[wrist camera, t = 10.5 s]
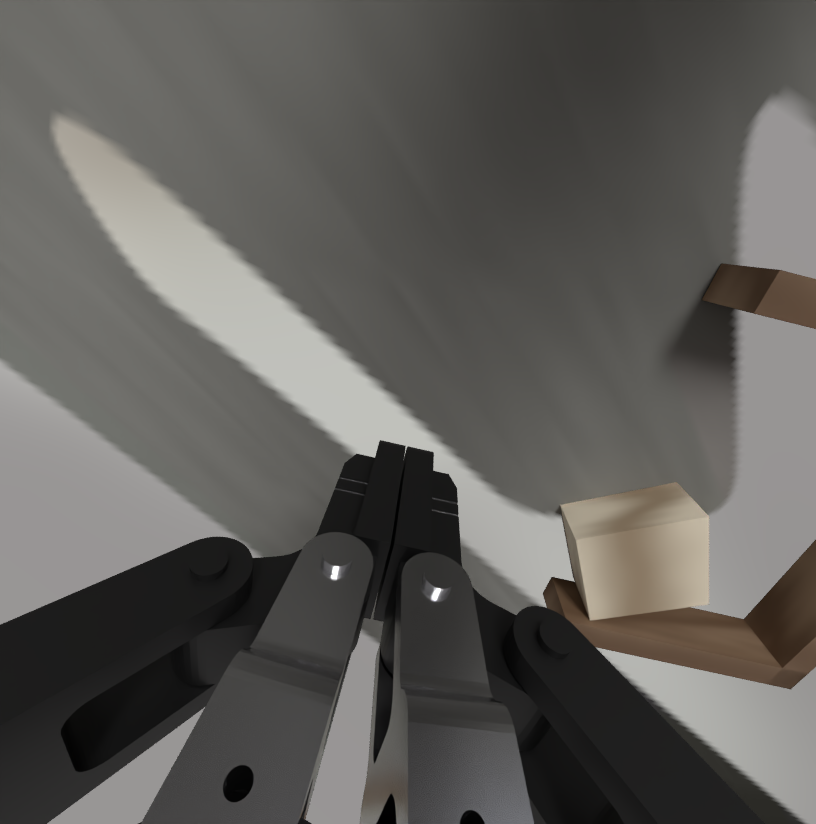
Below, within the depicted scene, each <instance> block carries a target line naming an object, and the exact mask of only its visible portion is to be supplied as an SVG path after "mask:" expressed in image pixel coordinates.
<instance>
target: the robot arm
mask: <svg viewBox="0 0 816 824" xmlns="http://www.w3.org/2000/svg"><path fill="white" fill-rule="evenodd" d="M404 454H405V457H404ZM433 457H434V453H433V452H430V451H425V450H421V449H417V448H412V447H407V450H406V453H405V446H403V445H399V444H394V443H390V442H386V441H381V440H380V442H379V446H378V449H377V453H376V457H375V458H373V457H369V456H364V455H360V454H356V455H354V456H353V457H352V458H351V459H349V460H348V461H347V462H345V464H344V466H343V469H342V472H341V474H340V477H339V479H338V482H337V484H336V487H335V490H334V492H333V495H332V497H331V500H330V502H329V505H328V507H327V510H326V513H325V515H324V518H323V520H322V523H321V525H320V528H319V531H318V533H317V535H316V537H314V538H313V539H311V540H310V541H309V542H308V543H307V544H306V545H305V546H304V547H303V549H301V550H299V551H297V552H295V553H292V554H288V555H284V556H277V557H263V558H252V555H251V553H250V551H249V549H248V548H247V547H246V546H245V545H244V544H242V543H241V542H239V541H237V540H235V539H231V538H227V537H209V538H204V539H200V540H197V541H194V542H192V543H189V544H187V545H184V546H182V547H180V548H177V549H175V550H173V551H170V552H168V553H166V554H163V555H161V556H159V557H157V558H154V559H152V560H150V561H147V562H145V563H143V564H140V565H138V566H136V567H133V568H131V569H129V570H126V571H124V572H122V573H119V574H117V575H115V576H112V577H110V578H108V579H106V580H103V581H101V582H99V583H96V584H94V585H92V586H89V587H87V588H85V589H82V590H80V591H78V592H75V593H73V594H71V595H68V596H66V597H64V598H61V599H59V600H57V601H55V602H52V603H50V604H48V605H45V606H43V607H41V608H38V609H36V610H34V611H31V612H29V613H27V614H24V615H22V616H20V617H17V618H15V619H13V620H10V621H8V622H6V623H3V624H1V625H0V824H47V823H48V822H49V821H51V820H52V819H54V818H55V817H56V816H58V815H59V814H60V813H62V812H63V811H64V810H66V809H67V808H68V807H70V806H71V805H72V804H74V803H75V802H77V801H78V800H79V799H81V798H82V797H83V796H85V795H86V794H87V793H89V792H90V791H91V790H93V789H94V788H96V787H97V786H98V785H100V784H101V783H102V782H104V781H105V780H106V779H108V778H109V777H111V776H112V775H113V774H115V773H116V772H117V771H119V770H120V769H121V768H123V767H124V766H125V765H127V764H128V763H130V762H131V761H132V760H134V759H135V758H136V757H137V756H139V755H140V754H142V753H143V752H144V751H146V750H147V749H149V748H150V747H151V746H153V745H154V744H155V743H157V742H158V741H159V740H161V739H162V738H163V737H165V736H166V735H167V734H169V733H170V732H172V731H173V730H174V729H175V728H177V727H178V726H180V725H181V724H182V723H184V722H185V721H186V720H188V719H189V718H191V717H192V716H193V715H195V714H196V713H197V712H199V711H200V710H201V709H203V708H204V707H205V706H206V707H205V709H204V711H203V713H202V714H201V716H200V718H199V720H198V721H197V723H196V725H195V727H194V729H193V730H192V732H191V734H190V736H189V738H188V739H187V741H186V743H185V745H184V747H183V749H182V750H181V752H180V754H179V756H178V758H177V760H176V761H175V763H174V765H173V767H172V768H171V770H170V772H169V774H168V776H167V777H166V779H165V781H164V783H163V785H162V787H161V788H160V790H159V792H158V794H157V796H156V797H155V799H154V801H153V803H152V805H151V806H150V808H149V810H148V812H147V814H146V815H145V817H144V819H143V821H142V822H141V823H139V824H311V823H310V822H308V821H306V820H305V819H306V815H307V811H308V807H309V804H310V801H311V797H312V793H313V790H314V786H315V782H316V778H317V775H318V770H319V767H320V764H321V760H322V756H323V753H324V749H325V745H326V742H327V738H328V735H329V731H330V728H331V724H332V721H333V717H334V714H335V710H336V706H337V703H338V699H339V696H340V692H341V689H342V685H343V682H344V678H345V674H346V671H347V667H348V664H349V660H350V656H351V653H352V652H353V650H354V649H355V647H356V645H357V642H358V638H359V634H360V631H361V627H362V623H363V619H364V618H368V619H370V618H371V615H372V611H373V607H374V604H375V600H376V596H377V601H376V607H375V613H374V620H379V621H383V622H384V623H383V630H382V637H381V642H380V646H379V649H378V653H377V657H376V664H375V665H376V666H375V679H374V692H373V707H372V720H371V733H370V747H369V748H370V749H369V761H368V771H367V778H366V785H365V790H364V795H363V801H362V808H361V817H360V824H765V823H764V822H763V821H762V820H761V819H760V818H759V817H758V816H757V815H756V814H755V813H754V812H753V811H752V810H751V809H750V808H749V806H748V805H747V804H746V803H745V802H744V801H743V800H742V799H741V798H740V797H739V796H738V795H737V794H736V793H735V792H734V791H733V790H732V789H731V788H730V787H729V786H728V785H727V784H726V783H725V782H724V781H723V779H722V778H721V777H720V776H719V775H718V774H717V773H716V772H715V771H714V770H713V769H712V768H711V767H710V766H709V765H708V764H707V763H706V762H705V761H704V760H703V759H702V758H701V757H700V756H699V755H698V754H697V752H696V751H695V750H694V749H693V748H692V747H691V746H690V745H689V744H688V743H687V742H686V741H685V740H684V739H683V738H682V737H681V736H680V735H679V734H678V733H677V732H676V731H675V730H674V729H673V728H672V727H671V725H670V724H669V723H668V722H667V721H666V720H665V719H664V718H663V717H662V716H661V715H660V714H659V713H658V712H657V711H656V710H655V709H654V708H653V707H652V706H651V705H650V704H649V703H648V702H647V701H646V700H645V698H644V697H643V696H642V695H641V694H640V693H639V692H638V691H637V690H636V689H635V688H634V687H633V686H632V685H631V684H630V683H629V682H628V681H627V680H626V679H625V678H624V677H623V676H622V675H621V674H620V673H619V671H618V670H617V669H616V668H615V667H614V666H613V665H612V664H611V663H610V662H609V661H608V660H607V659H606V658H605V657H604V656H603V655H602V654H601V653H600V652H599V651H598V650H597V649H596V648H595V647H594V646H593V644H592V643H591V642H590V641H589V640H588V639H587V638H586V637H585V636H584V635H583V634H582V633H581V632H580V631H579V630H578V629H577V628H576V627H575V626H574V625H573V624H572V623H571V622H570V621H569V620H567V619H566V618H565V617H564V616H562V615H560V614H559V613H557V612H555V611H553V610H551V609H548V608H545V607H539V606H531V607H527V608H525V609H522V610H521V611H520V612H519V613H518V614H517V616H516V615H514V614H512V613H510V612H509V611H507V610H505V609H503V608H501V607H499V606H497V605H495V604H493V603H492V602H490V601H488V600H487V599H485V598H484V597H482V596H481V595H480V594H479V593H478V592H477V591H476V590H475V589H474V588H473V587H472V584H471V580H470V578H469V576H468V575H467V573H466V571H465V570H464V569H463V568H462V563H461V548H460V532H459V517H458V505H457V502H458V500H457V488H456V486H455V484H454V483H453V481H452V479H451V478H450V476H449V474H445V473H440V472H436V471H433ZM403 460H404V461H403ZM377 593H378V595H377Z"/></svg>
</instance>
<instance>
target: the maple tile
mask: <svg viewBox="0 0 816 824" xmlns="http://www.w3.org/2000/svg"><path fill="white" fill-rule="evenodd" d="M560 506H561V511H562V521H563V527H564V532H565V537H566V542H567V548H568V553H569V558H570V564H571V569H572V574H573V578H574V581H575V583H576V586H577V588H578V591H579V594H580V596H581V599H582V601H583V604H584V606H585V609H586V611H587V614H588V617H589V619H590V621H591V620H599V619H606V618H613V617H621V616H628V615H635V614H643V613H650V612H658V611H665V610H672V609H680V608H687V607H694V606H702V605H709V516H708V515H707V514H706V513H705V512H704V511H703V510H702V509H701V508H700V506H699V505H698V504H697V503H696V502H695V501H694V500H693V499H692V498H691V497H690V496H689V495H688V494H687V493H686V492H685V491H684V490H683V489H682V488H681V486H680V485H679V484H678V483H677V482H675V483H670V484H665V485H660V486H655V487H650V488H645V489H640V490H634V491H629V492H624V493H619V494H614V495H609V496H604V497H599V498H593V499H588V500H583V501H578V502H573V503H568V504H563V505H560Z"/></svg>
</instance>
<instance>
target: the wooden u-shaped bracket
mask: <svg viewBox="0 0 816 824" xmlns="http://www.w3.org/2000/svg"><path fill="white" fill-rule="evenodd" d="M702 300H703V301H707V302H711V303H715V304H719V305H723V306H727V307H731V308H734V309H738V310H742V311H746V312H750V313H754V314H758V315H762V316H766V317H770V318H774V319H778V320H782V321H786V322H790V323H795V324H799V325H802V326H806V327H810V328H814V329H816V279H813V278H809V277H805V276H801V275H797V274H793V273H789V272H786V271H782V270H775V269H766V268H756V267H747V266H738V265H729V264H721V265H720V267H719V269H718V271H717V273H716V275H715V277H714V278H713V280H712V282H711V284H710V286H709V288H708V289H707V291H706V293H705V295H704V297H703V299H702ZM543 595H544V599H545V602H546V606H547V608H548V609H551V610H553V611H555V612H557V613H559V614H560V615H562V616H564V617H565V618H566V619H567V620H569V621H570V622H571V623H572V624H573V625H574V626H575V627H576V628H577V629H578V630H579V631H580V632H581V633H582V634H583V635H584V636H585V637H586V638H587V639H588V640H589V641H590V642H591V643H592V644H593V646H594V647H597V648H602V649H607V650H611V651H616V652H621V653H625V654H630V655H635V656H639V657H644V658H648V659H653V660H658V661H662V662H667V663H672V664H676V665H681V666H686V667H690V668H695V669H699V670H704V671H709V672H713V673H718V674H723V675H727V676H732V677H736V678H741V679H746V680H750V681H755V682H760V683H765V684H769V685H773V686H779V687H783V688H787V689H791V688H792V687H794V686H795V685H796V684H797V683H798V682H799V681H800V680H801V679H803V678H804V677H805V676H806V675H807V674H808V673H809V672H810V671H811V670H813V669H814V668H815V667H816V540H815V541H814V542H813V543H812V544H811V546H810V547H809V548H808V549H807V550H806V551H805V552H804V553H803V554H802V555H801V557H800V558H799V559H798V560H797V561H796V562H795V563H794V564H793V565H792V566H791V568H790V569H789V570H788V571H787V572H786V573H785V575H783V576H782V578H781V579H780V580H779V581H778V582H777V583H776V584H775V585H774V586H773V588H772V589H771V590H770V591H769V592H768V593H767V594H766V595H765V596H764V598H763V599H762V600H761V601H760V602H759V603H758V604H757V605H756V606H755V607H754V608H753V610H752V611H751V612H750V613H749V614H748V615H747V616H746V617H745V618H744V619H740V618H735V617H731V616H726V615H722V614H717V613H713V612H708V611H704V610H699V609H695V608H690V607H687V608H680V609H672V610H665V611H658V612H650V613H643V614H635V615H628V616H621V617H613V618H606V619H599V620H591V621H590V619H589V617H588V614H587V611H586V609H585V606H584V604H583V601H582V599H581V596H580V594H579V591H578V588H577V586H576V583H575V582H573V581H568V580H564V579H559V578H555V577H552V578H551V580H550V581H549V583H548V585H547V587H546V589H545V590H544V592H543Z"/></svg>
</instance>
